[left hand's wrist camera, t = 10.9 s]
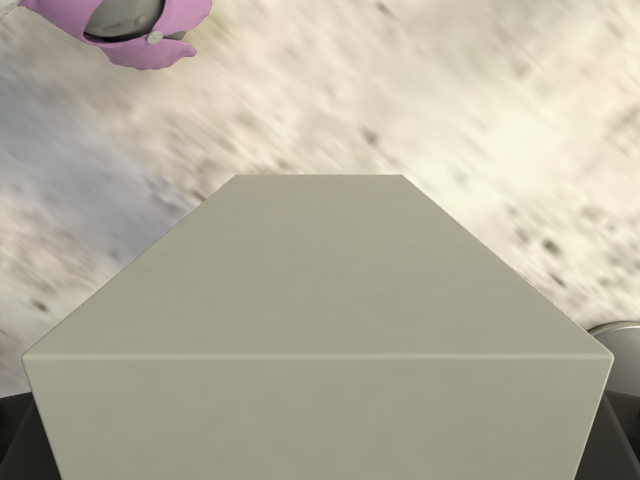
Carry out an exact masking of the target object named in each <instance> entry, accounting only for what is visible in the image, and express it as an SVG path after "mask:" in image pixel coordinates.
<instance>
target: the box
mask: <svg viewBox="0 0 640 480" xmlns="http://www.w3.org/2000/svg"><path fill="white" fill-rule="evenodd" d="M21 361H22V364H23V367H24V370H25V373H26V376H27V379H28V382H29V385H30V388H31V391H32V393H33V396H34V399H35V402H36V405H37V408H38V411H39V414H40V417H41V420H42V423H43V426H44V429H45V432H46V435H47V438H48V441H49V444H50V447H51V450H52V453H53V455H54V458H55V461H56V464H57V467H58V470H59V473H60V476H61V479H62V480H574V478H575V475H576V472H577V469H578V466H579V463H580V460H581V457H582V454H583V451H584V448H585V445H586V442H587V439H588V436H589V433H590V430H591V427H592V424H593V421H594V418H595V415H596V412H597V409H598V406H599V403H600V400H601V397H602V394H603V391H604V388H605V385H606V382H607V379H608V376H609V373H610V370H611V367H612V364H613V361H614V356H613V354H612V353H611V352H610V351H609V350H608V349H607V348H605V347H604V346H603V345H602V344H601V343H600V342H598V341H597V340H596V339H595V338H594V337H593V336H591V335H590V334H589V333H588V332H587V331H585V330H584V329H583V328H582V327H581V326H580V325H578V324H577V323H576V322H575V321H574V320H573V319H571V318H570V317H569V316H568V315H567V314H565V313H564V312H563V311H562V310H561V309H560V308H558V307H557V306H556V305H555V304H554V303H552V302H551V301H550V300H549V299H548V298H547V297H545V296H544V295H543V294H542V293H541V292H540V291H538V290H537V289H536V288H535V287H534V286H532V285H531V284H530V283H529V282H528V281H527V280H525V279H524V278H523V277H522V276H521V275H520V274H518V273H517V272H516V271H515V270H514V269H512V268H511V267H510V266H509V265H508V264H507V263H505V262H504V261H503V260H502V259H501V258H500V257H498V256H497V255H496V254H495V253H494V252H492V251H491V250H490V249H489V248H488V247H487V246H485V245H484V244H483V243H482V242H481V241H480V240H478V239H477V238H476V237H475V236H474V235H472V234H471V233H470V232H469V231H468V230H467V229H465V228H464V227H463V226H462V225H461V224H460V223H458V222H457V221H456V220H455V219H454V218H452V217H451V216H450V215H449V214H448V213H447V212H445V211H444V210H443V209H442V208H441V207H439V206H438V205H437V204H436V203H435V202H434V201H432V200H431V199H430V198H429V197H428V196H427V195H425V194H424V193H423V192H422V191H421V190H419V189H418V188H417V187H416V186H415V185H414V184H412V183H411V182H410V181H409V180H408V179H407V178H405V177H404V176H403V175H235V176H234V177H233V178H231V179H230V180H229V181H228V182H227V183H226V184H224V185H223V186H222V187H221V188H220V189H218V190H217V191H216V192H215V193H214V194H212V195H211V196H210V197H209V198H208V199H207V200H205V201H204V202H203V203H202V204H201V205H199V206H198V207H197V208H196V209H195V210H193V211H192V212H191V213H190V214H189V215H188V216H186V217H185V218H184V219H183V220H182V221H180V222H179V223H178V224H177V225H176V226H174V227H173V228H172V229H171V230H170V231H169V232H167V233H166V234H165V235H164V236H163V237H161V238H160V239H159V240H158V241H157V242H155V243H154V244H153V245H152V246H151V247H150V248H148V249H147V250H146V251H145V252H144V253H142V254H141V255H140V256H139V257H138V258H136V259H135V260H134V261H133V262H132V263H131V264H129V265H128V266H127V267H126V268H125V269H123V270H122V271H121V272H120V273H119V274H117V275H116V276H115V277H114V278H113V279H111V280H110V281H109V282H108V283H107V284H106V285H104V286H103V287H102V288H101V289H100V290H98V291H97V292H96V293H95V294H94V295H92V296H91V297H90V298H89V299H88V300H87V301H85V302H84V303H83V304H82V305H81V306H79V307H78V308H77V309H76V310H75V311H73V312H72V313H71V314H70V315H69V316H68V317H66V318H65V319H64V320H63V321H62V322H60V323H59V324H58V325H57V326H56V327H54V328H53V329H52V330H51V331H50V332H49V333H47V334H46V335H45V336H44V337H43V338H41V339H40V340H39V341H38V342H37V343H35V344H34V345H33V346H32V347H31V348H30V349H28V350H27V351H26V352H25V353H24V354H23V355H22V357H21Z"/></svg>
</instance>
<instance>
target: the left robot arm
mask: <svg viewBox="0 0 640 480" xmlns="http://www.w3.org/2000/svg"><path fill="white" fill-rule="evenodd" d="M588 333H589V334H590V335H591V336H593V337H594V338H595V339H596V340H597V341H598V342H600V343H601V344H602V345H603V346H604V347H605V348H607V349H608V350H609V351H610V352H611V353H612V354H613V356H614V361H613V364H612V367H611V370H610V373H609V376H608V379H607V382H606V385H605V388H604V391H603V394H602V397H601V400H600V403H599V406H598V409H597V412H596V415H595V418H594V421H593V424H592V427H591V430H590V433H589V436H588V439H587V442H586V445H585V448H584V451H583V454H582V457H581V460H580V463H579V466H578V469H577V472H576V475H575V478H574V480H640V322H634V321H623V322H615V323H610V324H606V325H603V326H600V327H598V328H595V329H593V330H591V331H589V332H588ZM0 480H62V479H61V476H60V473H59V470H58V467H57V464H56V461H55V458H54V455H53V453H52V450H51V447H50V444H49V441H48V438H47V435H46V432H45V429H44V426H43V423H42V420H41V417H40V414H39V411H38V408H37V405H36V402H35V399H34V396H33V393H32V392H28V393H23V394H19V395H14V396H9V397H4V398H0Z"/></svg>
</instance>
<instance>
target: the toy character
mask: <svg viewBox="0 0 640 480" xmlns="http://www.w3.org/2000/svg"><path fill="white" fill-rule="evenodd" d="M211 5H212V0H0V18H3V17H4V15H6V14H8V13H9V12H10V11H11V10H12V9H14V8H15V7H16V6H25V7H27V8H28V9H29V10H32V11H34V12H36V13H38V14H40V15H41V16H43V17H44V18H46V19H47V20H48V21H50V22H51V23H53V24H54V25H56V26H57V27H59V28H61V29H62V30H64V31H65V32H67V33H69V34H70V35H72V36H74V37H76V38H77V39H79V40H81V41H83V42H85V43H88V44H90V45H95V46H99V47H100V48H101V49H102V50H103V51H104V52H105V53H106V55H107V56H108V57H109V59H110V61H111V62H112V63H113V64H116V65H121V66H126V67H134V68H136V69H137V70H146V69H155V70H157V69H161V68H165V67H169V66H171V65H172V64H174V63H175V62H176V61H177V60H179V59H180V58H182V57H193V56H195V55H196V50H195V49H194V48H193V47H192V46H191V45H190V44H188V43H186V42H183V41H180V40H181V39H182V38H183V37H184V35H185V33H186V32H187V31H189V30H191V29H193V28H194V27H196V26H197V25H198V24H200V23H201V21H202V20H203V19H204V18H205V17H207V16H208V15H209V12H210V9H211Z"/></svg>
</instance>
